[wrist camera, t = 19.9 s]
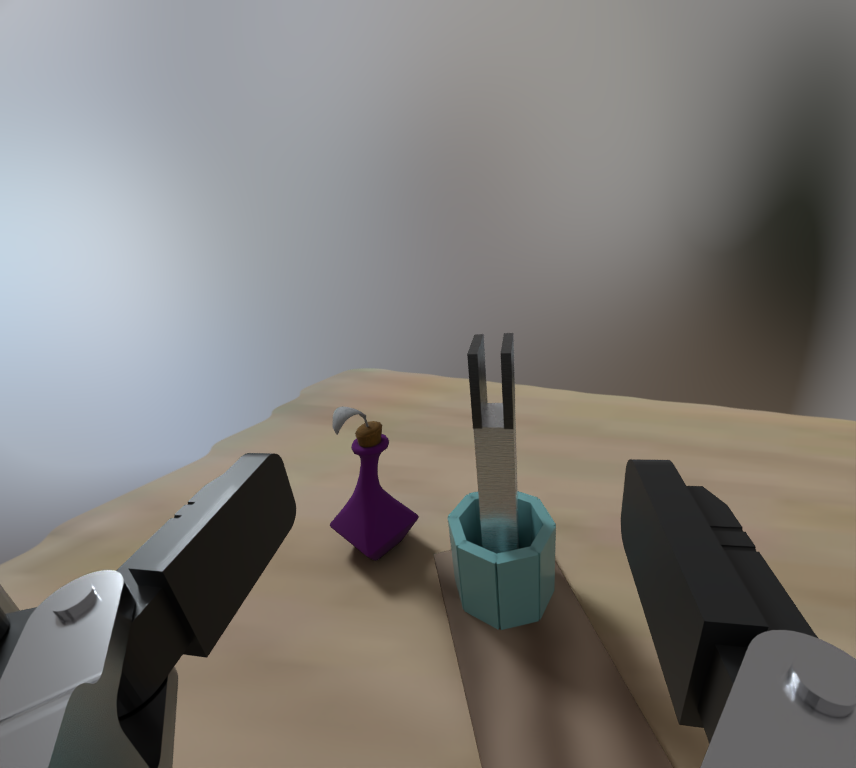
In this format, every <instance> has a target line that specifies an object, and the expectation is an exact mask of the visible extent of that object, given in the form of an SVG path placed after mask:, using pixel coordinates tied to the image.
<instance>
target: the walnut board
mask: <svg viewBox="0 0 856 768" xmlns="http://www.w3.org/2000/svg"><path fill="white" fill-rule="evenodd" d="M434 559H435V564H436V568H437V573H438V577H439V582H440V586H441V590H442V595H443V599H444V603H445V608H446V612H447V617H448V621H449V625H450V630H451V634H452V639H453V643H454V647H455V652H456V656H457V660H458V665H459V669H460V674H461V678H462V682H463V687H464V691H465V695H466V700H467V704H468V709H469V713H470V717H471V722H472V726H473V730H474V735H475V739H476V744H477V748H478V752H479V757H480V761H481V766H482V768H673V766H672V765H671V763H670V761H669V759H668V758H667V756H666V754H665V752H664V751H663V749H662V747H661V745H660V744H659V742H658V740H657V738H656V737H655V735H654V733H653V731H652V729H651V728H650V726H649V724H648V722H647V721H646V719H645V717H644V715H643V714H642V712H641V710H640V708H639V707H638V705H637V703H636V701H635V700H634V698H633V696H632V694H631V693H630V691H629V689H628V687H627V686H626V684H625V682H624V680H623V679H622V677H621V675H620V673H619V672H618V670H617V668H616V666H615V665H614V663H613V661H612V659H611V658H610V656H609V654H608V652H607V651H606V649H605V647H604V645H603V644H602V642H601V640H600V638H599V637H598V635H597V633H596V631H595V630H594V628H593V626H592V624H591V623H590V621H589V619H588V617H587V616H586V614H585V612H584V610H583V609H582V607H581V605H580V603H579V602H578V600H577V598H576V596H575V595H574V593H573V591H572V589H571V588H570V586H569V584H568V582H567V581H566V579H565V577H564V575H563V574H562V572H561V570H560V568H559V567H558V565H557V563H556V561H555V587H554V592H553V595H552V597H551V599H550V601H549V603H548V605H547V607H546V609H545V611H544V613H543V615H542V618H541V620H540V619H539V621H537V622H533V623H529V624H525V625H521V626H516V627H512V628H508V629H504V630H501V629H500V628H499V630H498V629H496V628H494V627H492V626H490V625H489V624H487V623H485V622H483V621H481V620H480V619H478V618H476V617H474V616H472V615H470V614H469V613H467V612H465V611H464V609H463V608H462V604H461V600H460V596H459V593H458V589H457V585H456V582H455V577H454V568H453V560H452V551H451V550H449V551H445V552H440V553H435V554H434Z"/></svg>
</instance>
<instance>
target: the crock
mask: <svg viewBox="0 0 856 768" xmlns="http://www.w3.org/2000/svg"><path fill="white" fill-rule="evenodd" d="M448 526H449V534H450V543H451V551H452V560H453V568H454V577H455V582H456V585H457V589H458V593H459V596H460V600H461V604H462V608H463V609H464V611H465V612H467V613H469V614H470V615H472V616H474V617H476V618H478V619H480V620H481V621H483V622H485V623H487V624H489V625H490V626H492V627H494V628H496V629H498V630H499V628H500V629H501V630H504V629H508V628H512V627H516V626H521V625H525V624H529V623H533V622H537V621H539V619H540V620H541V618H542V615H543V613H544V611H545V609H546V607H547V605H548V603H549V601H550V599H551V597H552V595H553V592H554V587H555V540H556V524H555V523H554V521H553V519H552V518H551V516H550V515H549V513H548V512H547V510H546V508H545V507H544V505H543V504H542V502H541V501H540V499H538V498H537V497H534V496H531V495H528V494H525V493H522V492H519V491H518V527H519V549H516V550H512V551H507V552H502V553H498V554H496V553H494V552H492V551H489V550H487V549H485V548H482V534H481V521H480V508H479V495H478V492H474V493H469V495H466V496H465V497H464V498H463V500H462V501H461V502H460V503H459V504H458V505H457V506H456V508H455V509H454V510H453V511H452V512H451V513H450V514H449V516H448Z"/></svg>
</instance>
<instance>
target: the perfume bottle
mask: <svg viewBox="0 0 856 768" xmlns="http://www.w3.org/2000/svg"><path fill="white" fill-rule="evenodd" d="M356 414H359V415H360V416H361V417H363V418H364V420H365V424H362V425H361V426H360V427H359V428H358V429H357V431H356V433H355V434H356V438H357V439H355V440H354V442H353V444H352V447H351V448H352V450H353V452H354V454H357V455H359V456H360V458H361V467H360V474H359V478H358V482H357V485H356V488H355V490H354V493H353V495H352V496H351V498H350V499H349V501H348V502H347V504H346V505H345V506H344V508H343V509H342V510H341V511H340V512H339V514H338V515H337V516H336V517H335V518H334V520H333V521H332V522H331V523H330V527H331V528H333V529H334V530H335V531H336V532H337V533H339V534H340V535H341V536H342V537H344V538H345V539H346V540H347V541H349V542H350V543H351V544H352V545H353V546H355V547H356V548H357V549H358V550H360V551H361V552H362V553H363V554H364V555H366V556H367V557H369V558H371V559H372V560H374V561H377V560H378V559H379V558H381V557H382V556H383V555H384V554H386V553H387V552H388V551H389V550H391V549H392V548H393V547H394V546H396V545H397V544H398V543H399V542H400V541H402V539H403V538H404V537H405V535H406V534H407V533H408V531H409V530H410V529H411V527H412V526H413V525H414V523H415V522H416V521H417V519H418V515H417V514H416V513H414V512H413V511H412V510H410V509H409V508H407V507H406V506H404V505H403V504H402V503H400V502H399V501H397V500H396V499H394V498H393V497H392V496H391V495H389V494H388V493H387V492H386V491H385V490H383V489H382V487H381V486H380V484H379V479H378V460H379V456H380V454H381V452H382V451H384V450H385V449H387V447H388V444H389V440H388V438H387V437H386V435H384V434H382V424H381V423H380V422H375V421H371V422H367V420H366V415H365V414H363V413H362V412H360V411H358V410H356V409H353V408H349V407H339V408H337V409H336V410H335V411H334V414H333V429H334V431H335V433H336V434H337V435H338V433H339V430H340V429H341V427H342V425H343V424H344V422H345V421H346V420H347V419H348V418H350V417H351V416H353V415H356Z"/></svg>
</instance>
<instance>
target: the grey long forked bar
mask: <svg viewBox="0 0 856 768" xmlns="http://www.w3.org/2000/svg"><path fill="white" fill-rule="evenodd" d="M513 346H514V345H513V333H506V334H505V333H504V337H503V343H502V349H501V370H502V396H503V403H487V386H486V369H485V352H484V335H483V334H480V335H474V338H473V340H472V343H471V346H470V349H469V351H468V354H467V356H468V369H469V382H470V395H471V408H472V421H473V429H474V442H475V455H476V468H477V482H478V495H479V508H480V521H481V534H482V548H485V549H487V550H489V551H492V552H494V553H496V554H498V553H502V552H507V551H512V550H516V549H519V527H518V491H517V455H516V419H515V381H514V380H515V379H514V348H513Z"/></svg>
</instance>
